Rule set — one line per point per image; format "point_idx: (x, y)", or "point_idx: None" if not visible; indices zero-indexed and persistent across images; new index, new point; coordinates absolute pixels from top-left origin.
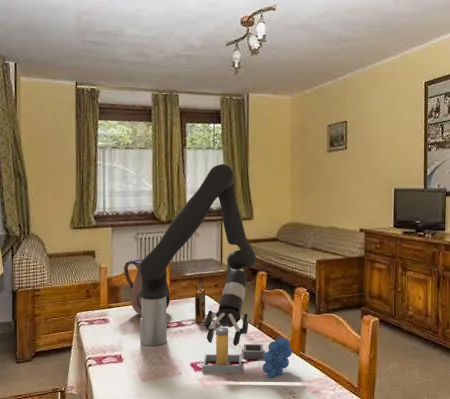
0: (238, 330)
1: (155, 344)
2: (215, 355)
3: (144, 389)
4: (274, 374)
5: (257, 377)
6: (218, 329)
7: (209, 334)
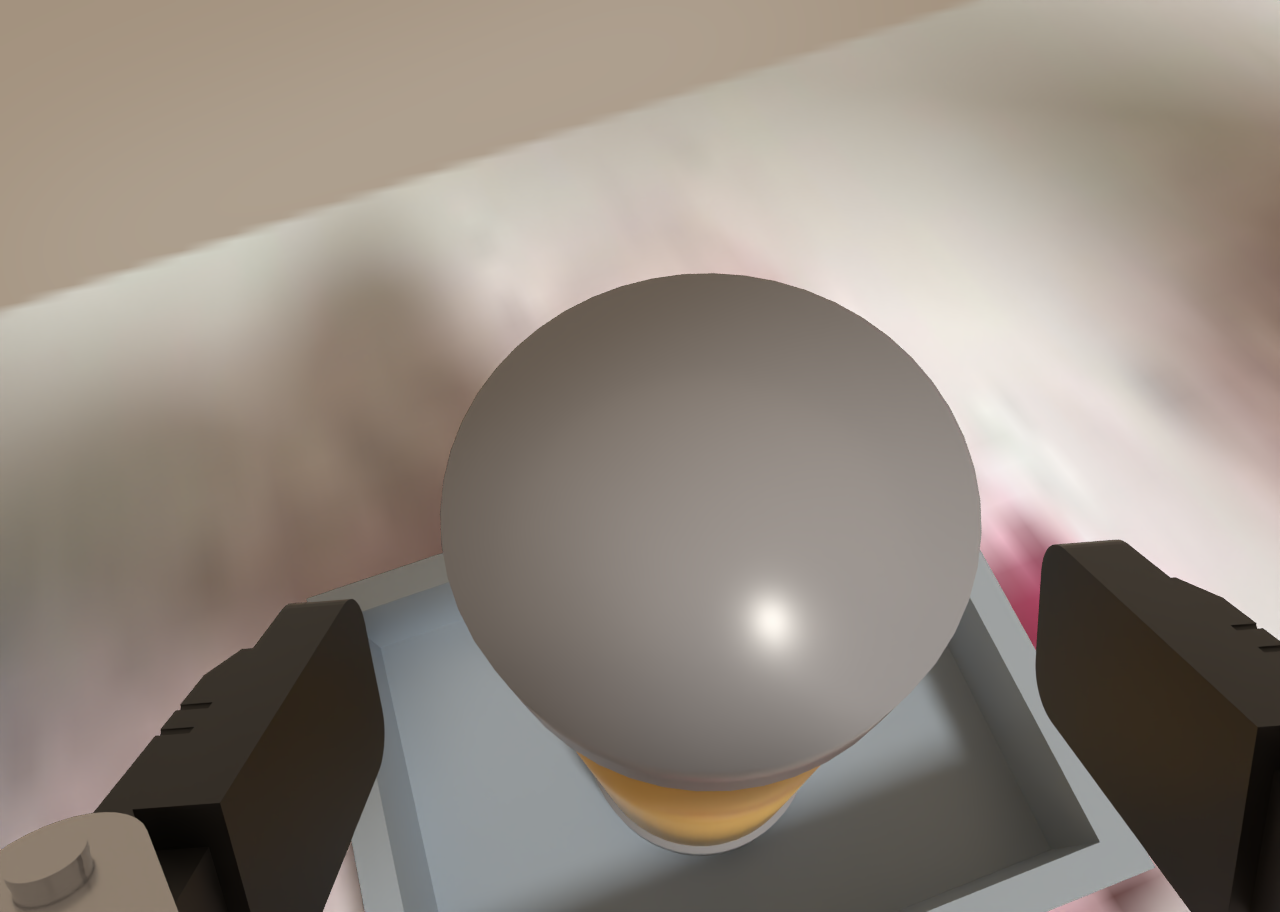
0: (36, 834)
1: None
2: (932, 906)
3: (1215, 2)
4: None
5: (115, 660)
6: (852, 455)
7: (1194, 609)
